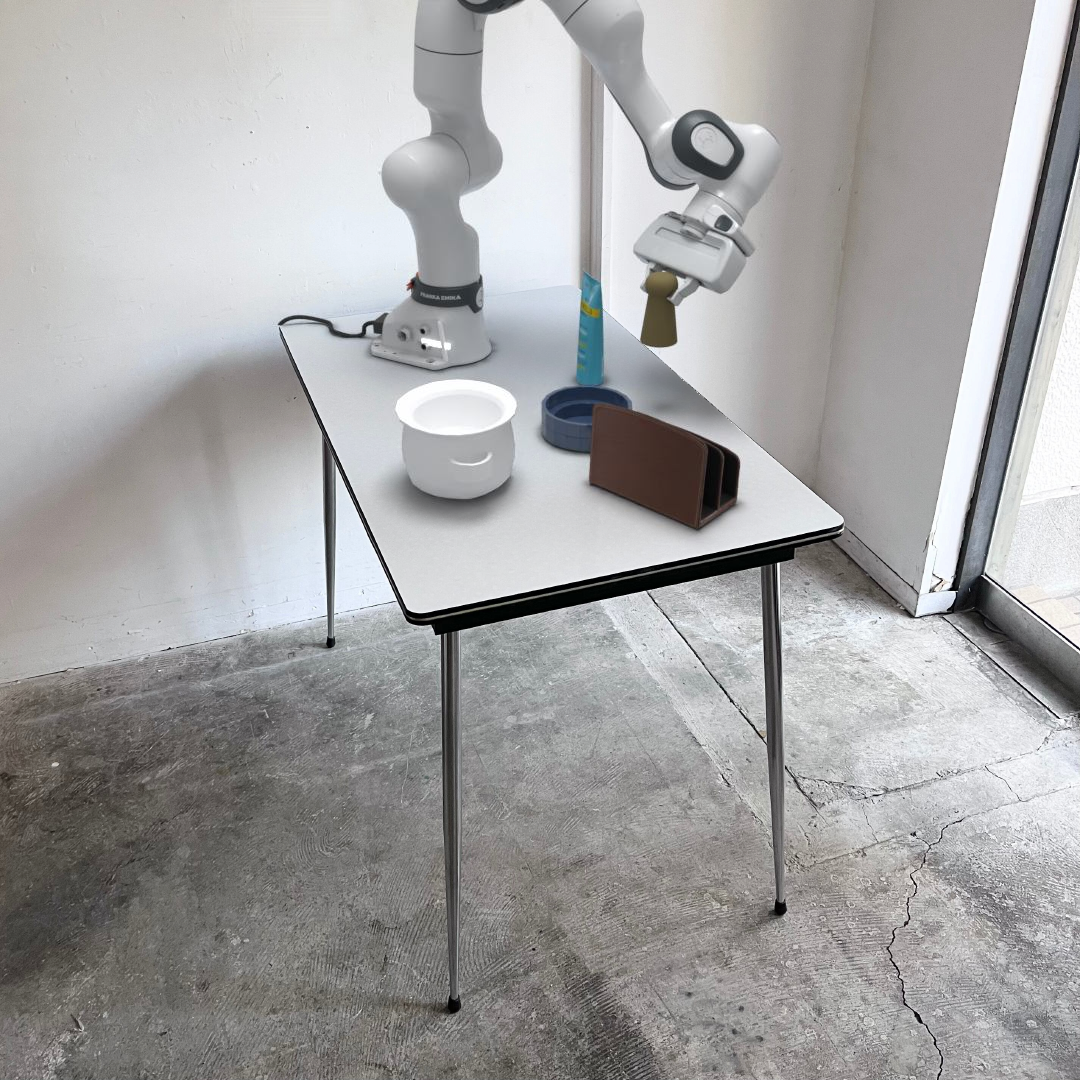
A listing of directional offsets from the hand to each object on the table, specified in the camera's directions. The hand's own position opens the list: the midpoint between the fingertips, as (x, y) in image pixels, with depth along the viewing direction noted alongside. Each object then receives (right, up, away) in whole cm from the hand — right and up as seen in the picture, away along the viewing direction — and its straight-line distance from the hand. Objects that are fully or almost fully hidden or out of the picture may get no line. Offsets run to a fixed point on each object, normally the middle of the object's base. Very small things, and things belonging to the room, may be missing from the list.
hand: (658, 297), depth 171 cm
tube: (-10, -10, +21) cm, 25 cm away
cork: (+1, -6, +4) cm, 8 cm away
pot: (-30, -29, -9) cm, 43 cm away
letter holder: (-1, -32, -12) cm, 34 cm away
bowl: (-11, -21, +4) cm, 24 cm away
